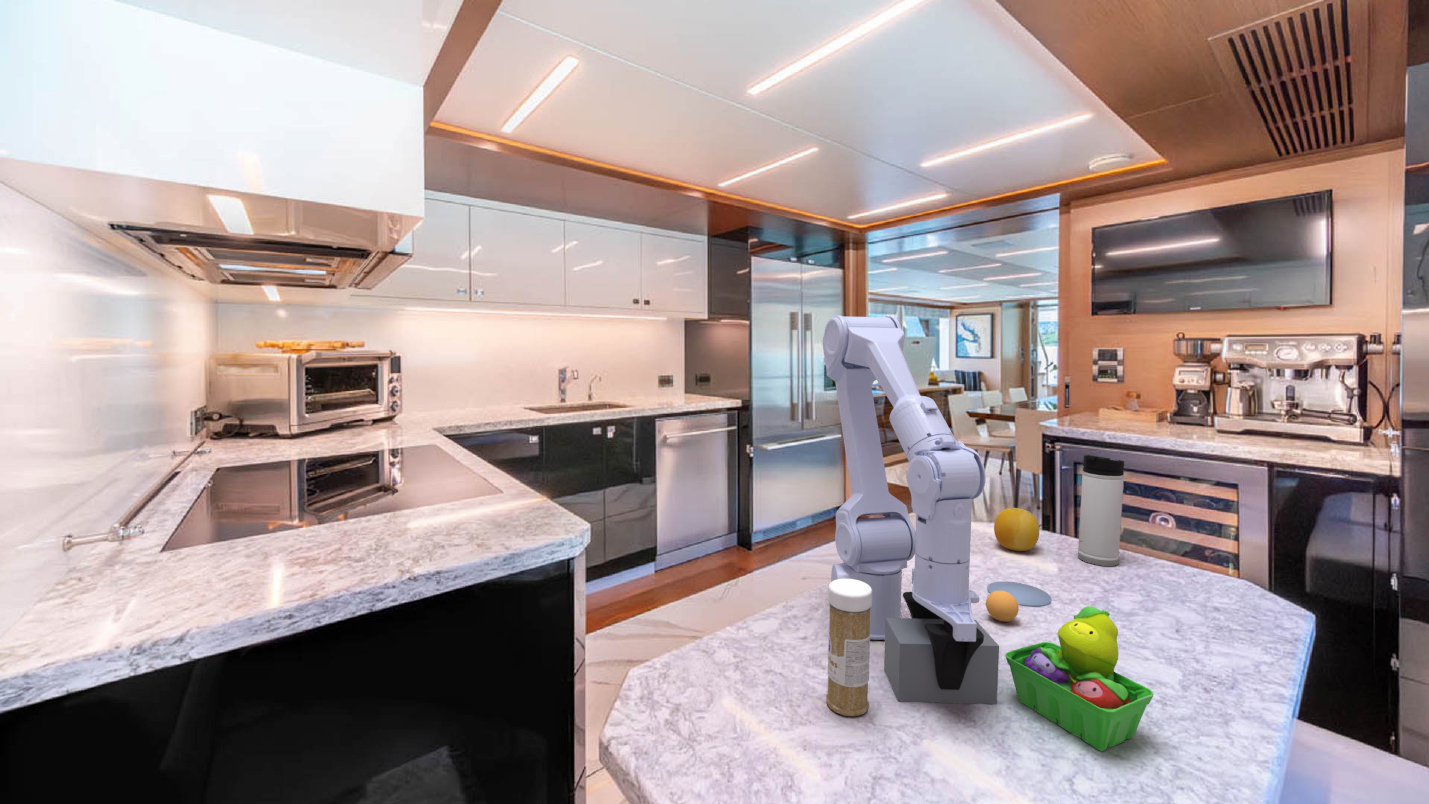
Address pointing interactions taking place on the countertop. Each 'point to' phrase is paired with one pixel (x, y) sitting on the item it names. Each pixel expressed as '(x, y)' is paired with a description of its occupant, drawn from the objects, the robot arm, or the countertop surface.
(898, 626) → the grey rectangular block
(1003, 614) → the ball
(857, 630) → the spice jar
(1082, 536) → the travel mug
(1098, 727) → the fruit basket
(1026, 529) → the fruit
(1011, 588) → the disc
